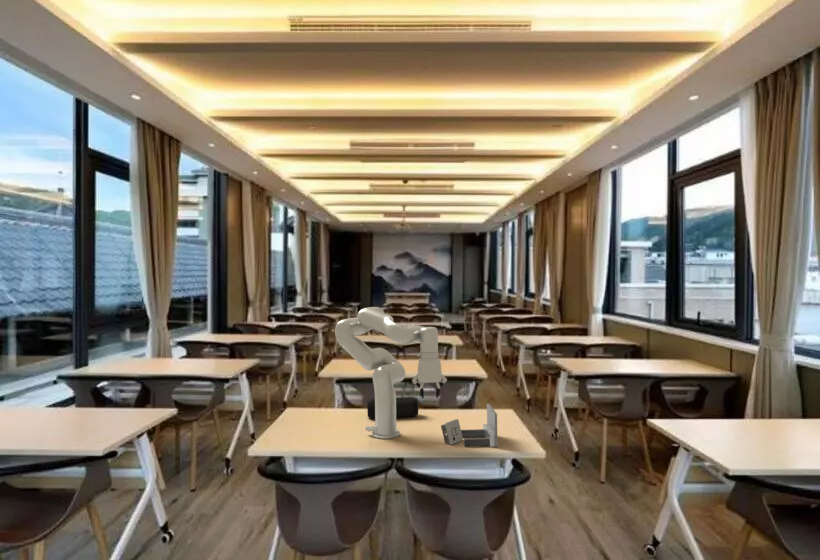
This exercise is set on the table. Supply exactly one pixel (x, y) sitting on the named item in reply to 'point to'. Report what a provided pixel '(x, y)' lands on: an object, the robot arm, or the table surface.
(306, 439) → the table surface
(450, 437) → the electrical switch
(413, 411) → the portable speaker
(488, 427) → the rail mount
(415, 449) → the table surface
